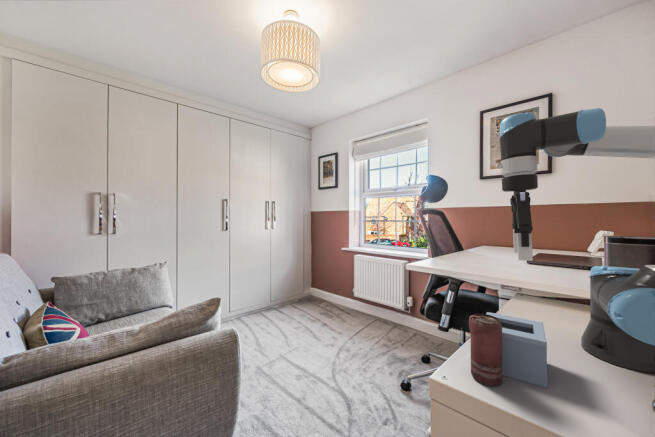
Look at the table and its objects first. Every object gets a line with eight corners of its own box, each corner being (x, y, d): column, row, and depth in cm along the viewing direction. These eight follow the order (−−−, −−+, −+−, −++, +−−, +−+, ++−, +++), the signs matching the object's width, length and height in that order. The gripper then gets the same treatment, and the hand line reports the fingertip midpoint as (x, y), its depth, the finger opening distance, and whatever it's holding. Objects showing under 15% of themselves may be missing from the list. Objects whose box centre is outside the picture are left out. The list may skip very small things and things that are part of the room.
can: (467, 367, 62) (467, 311, 62) (498, 373, 60) (497, 314, 60) (471, 383, 56) (471, 321, 56) (505, 390, 54) (505, 325, 54)
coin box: (543, 361, 64) (542, 322, 64) (546, 388, 54) (546, 342, 54) (487, 347, 71) (486, 311, 71) (481, 368, 62) (481, 327, 62)
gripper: (500, 181, 79) (503, 249, 79) (503, 171, 58) (507, 263, 58) (530, 178, 75) (533, 250, 75) (546, 166, 54) (550, 265, 54)
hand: (522, 256), depth 67 cm, fingers open, 13 cm apart
